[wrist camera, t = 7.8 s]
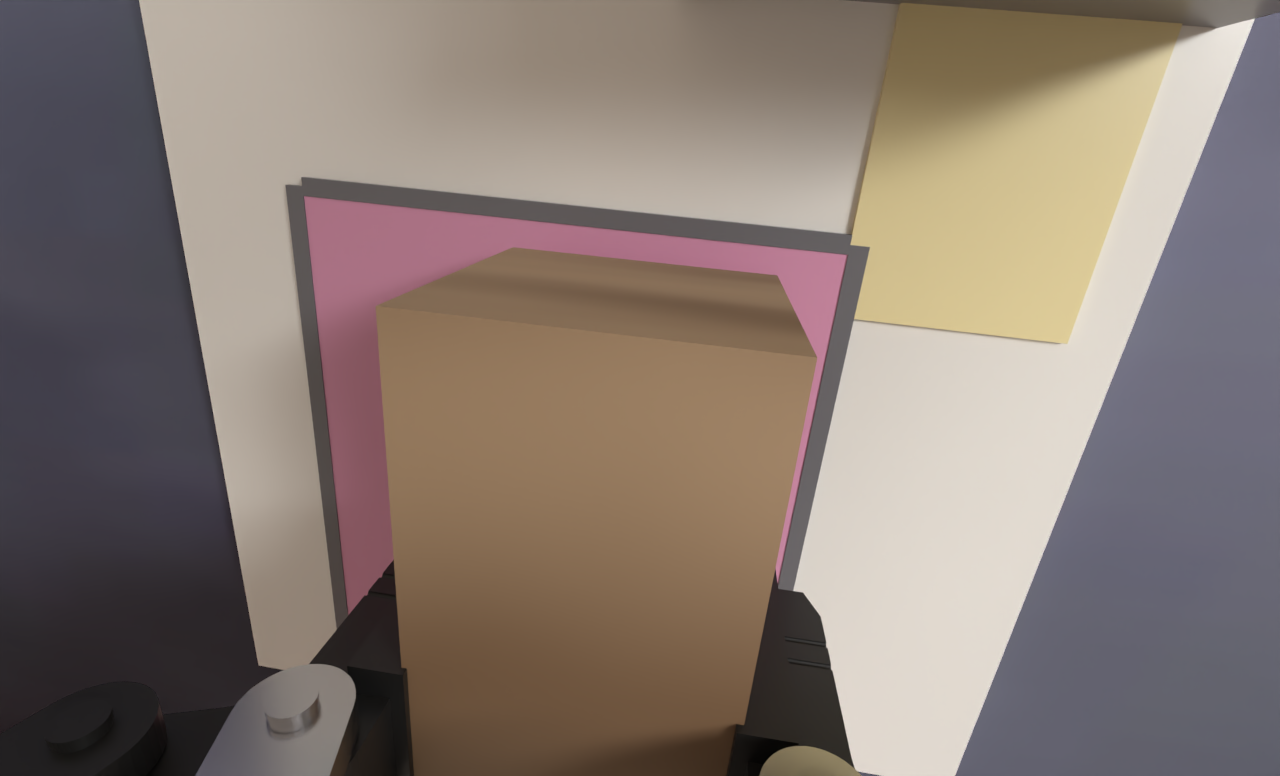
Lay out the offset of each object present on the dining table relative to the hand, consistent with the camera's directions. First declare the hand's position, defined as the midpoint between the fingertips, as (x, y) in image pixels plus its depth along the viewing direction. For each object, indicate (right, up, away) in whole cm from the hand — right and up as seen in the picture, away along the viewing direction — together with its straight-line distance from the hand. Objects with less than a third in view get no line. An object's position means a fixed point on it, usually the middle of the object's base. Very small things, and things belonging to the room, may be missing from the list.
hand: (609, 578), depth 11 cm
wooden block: (0, 0, +1) cm, 1 cm away
